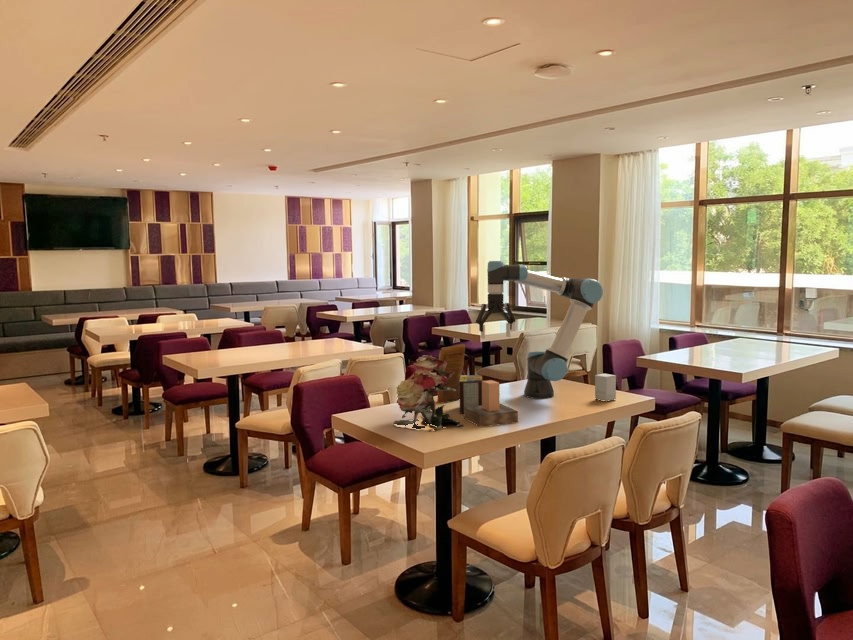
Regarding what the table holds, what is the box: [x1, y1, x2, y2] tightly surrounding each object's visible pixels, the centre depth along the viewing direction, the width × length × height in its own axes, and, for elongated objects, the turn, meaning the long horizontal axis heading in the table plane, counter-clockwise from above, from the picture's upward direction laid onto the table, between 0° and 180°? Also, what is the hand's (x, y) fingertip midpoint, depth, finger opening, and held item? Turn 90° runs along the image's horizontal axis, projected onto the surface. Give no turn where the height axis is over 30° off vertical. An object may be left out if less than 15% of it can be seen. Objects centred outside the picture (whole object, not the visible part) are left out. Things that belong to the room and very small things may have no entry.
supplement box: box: [594, 373, 617, 401], centre depth 312 cm, size 7×7×13 cm
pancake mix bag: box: [436, 343, 466, 403], centre depth 315 cm, size 7×19×28 cm, turn 129°
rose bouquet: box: [393, 354, 469, 430], centre depth 268 cm, size 26×29×30 cm
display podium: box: [463, 403, 519, 427], centre depth 275 cm, size 18×16×5 cm
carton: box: [482, 379, 501, 411], centre depth 274 cm, size 7×5×12 cm
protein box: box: [459, 374, 483, 415], centre depth 293 cm, size 10×15×16 cm
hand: (495, 337), depth 302 cm, fingers open, 13 cm apart
